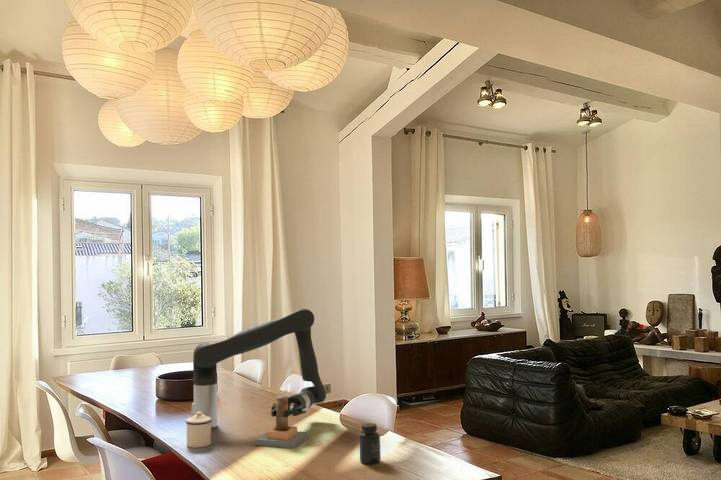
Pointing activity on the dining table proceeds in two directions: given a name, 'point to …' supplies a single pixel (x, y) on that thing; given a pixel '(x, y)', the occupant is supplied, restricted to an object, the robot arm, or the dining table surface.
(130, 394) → the dining table surface
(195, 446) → the teacup with lid
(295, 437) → the collar base
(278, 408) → the walnut peg
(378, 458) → the supplement bottle
